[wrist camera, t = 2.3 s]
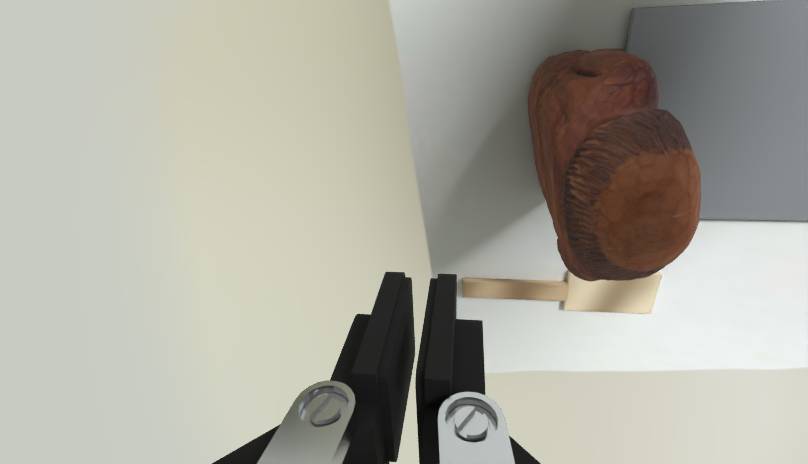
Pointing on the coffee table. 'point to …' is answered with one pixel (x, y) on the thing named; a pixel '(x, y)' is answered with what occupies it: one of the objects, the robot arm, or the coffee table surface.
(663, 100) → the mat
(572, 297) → the turner
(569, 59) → the wooden figurine
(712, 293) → the coffee table surface
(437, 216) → the coffee table surface
